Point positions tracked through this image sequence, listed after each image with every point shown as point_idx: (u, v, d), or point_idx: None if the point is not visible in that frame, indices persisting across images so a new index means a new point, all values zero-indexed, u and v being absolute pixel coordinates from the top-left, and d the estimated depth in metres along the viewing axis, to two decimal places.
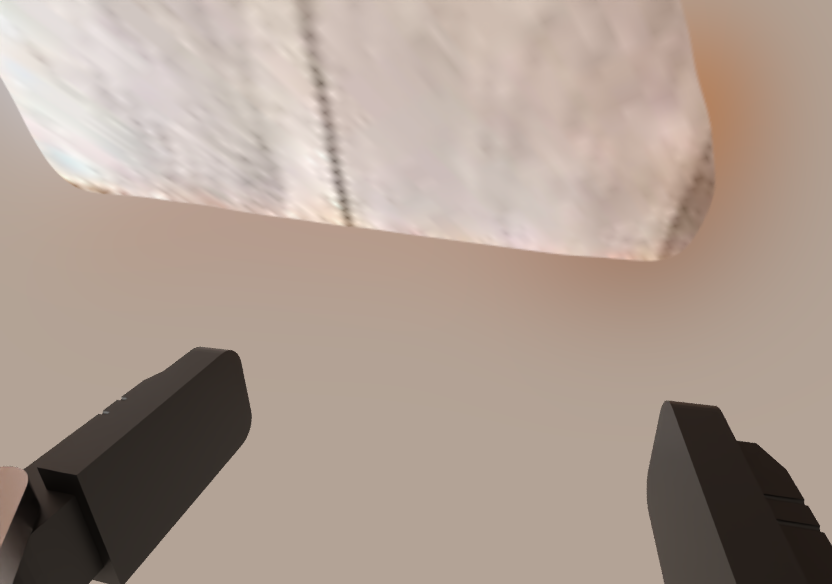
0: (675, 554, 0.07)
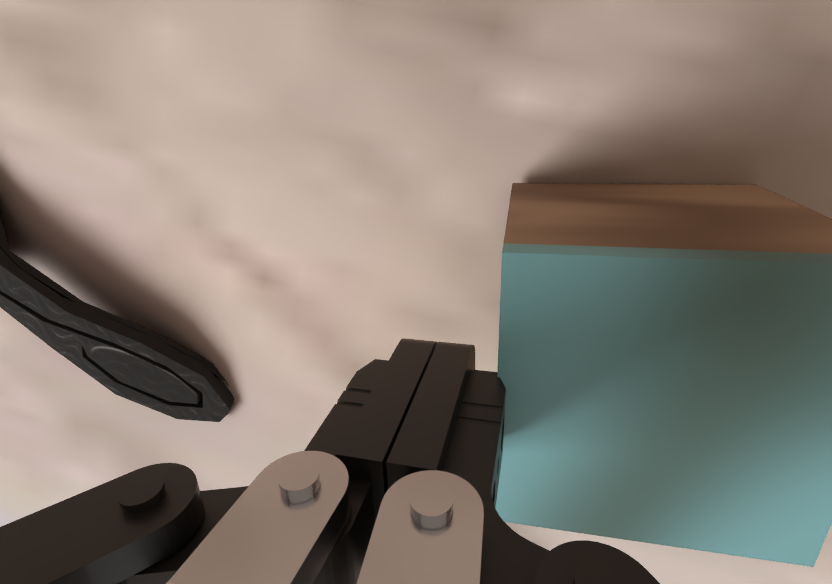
0: None
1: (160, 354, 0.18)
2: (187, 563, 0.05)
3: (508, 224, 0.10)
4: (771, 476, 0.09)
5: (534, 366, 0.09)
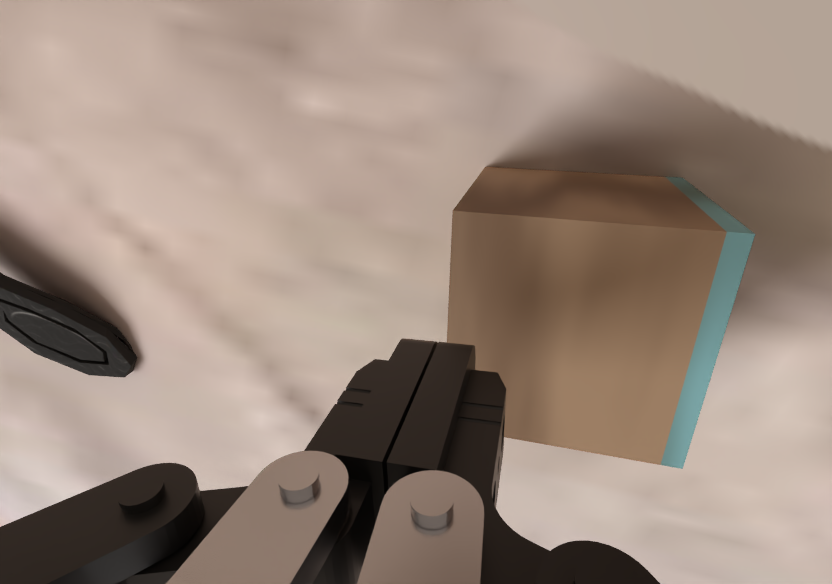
0: None
1: (67, 318, 0.22)
2: (186, 564, 0.05)
3: (659, 226, 0.10)
4: None
5: None
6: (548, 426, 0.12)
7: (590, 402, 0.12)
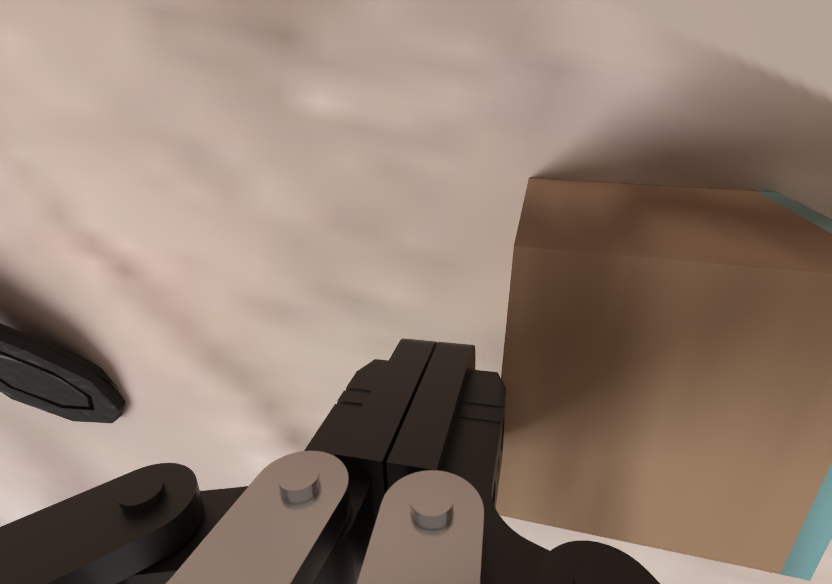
0: None
1: (45, 361, 0.19)
2: (186, 565, 0.05)
3: (813, 270, 0.07)
4: None
5: None
6: (629, 519, 0.10)
7: (689, 493, 0.09)
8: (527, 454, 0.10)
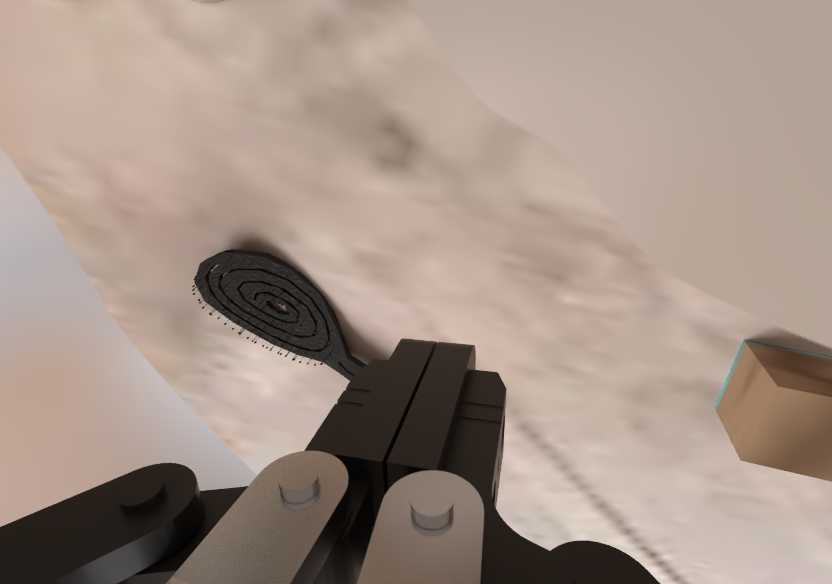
0: None
1: None
2: (186, 565, 0.05)
3: None
4: None
5: None
6: None
7: None
8: None
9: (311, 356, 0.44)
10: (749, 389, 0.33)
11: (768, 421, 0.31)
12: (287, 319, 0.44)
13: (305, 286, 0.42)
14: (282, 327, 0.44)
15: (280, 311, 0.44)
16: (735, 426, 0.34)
